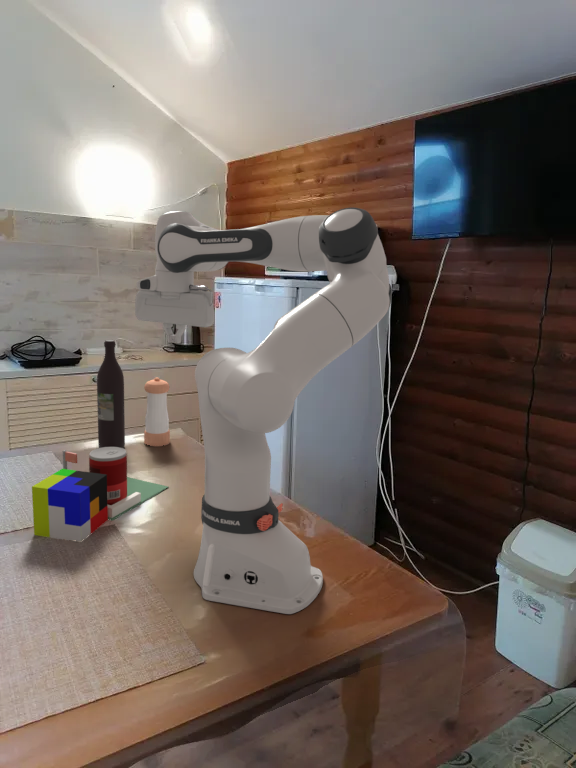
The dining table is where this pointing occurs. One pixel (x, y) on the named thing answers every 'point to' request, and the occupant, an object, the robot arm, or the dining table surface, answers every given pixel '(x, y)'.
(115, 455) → the canned food
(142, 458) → the dining table surface
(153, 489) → the felt runner
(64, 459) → the cup fence
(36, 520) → the puzzle toy
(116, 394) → the wine bottle
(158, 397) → the salt shaker
